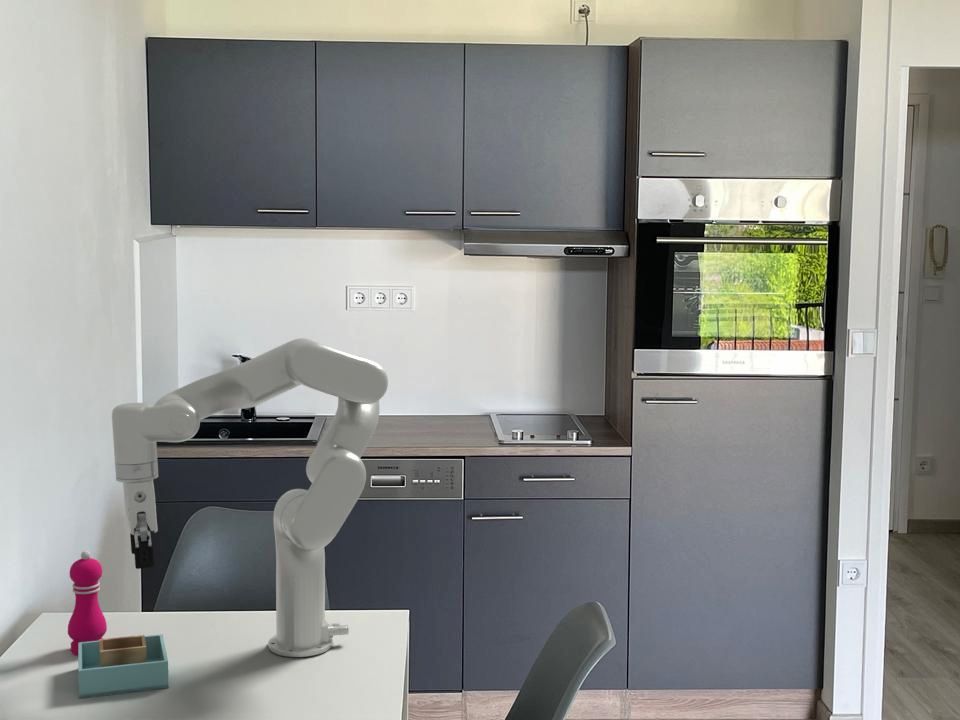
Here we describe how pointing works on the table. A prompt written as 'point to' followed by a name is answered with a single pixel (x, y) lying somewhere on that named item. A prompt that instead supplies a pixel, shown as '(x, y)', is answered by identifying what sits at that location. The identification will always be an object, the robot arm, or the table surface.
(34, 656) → the table surface
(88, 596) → the pepper mill
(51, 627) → the table surface
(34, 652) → the table surface
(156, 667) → the big crate
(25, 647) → the table surface
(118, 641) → the small crate
